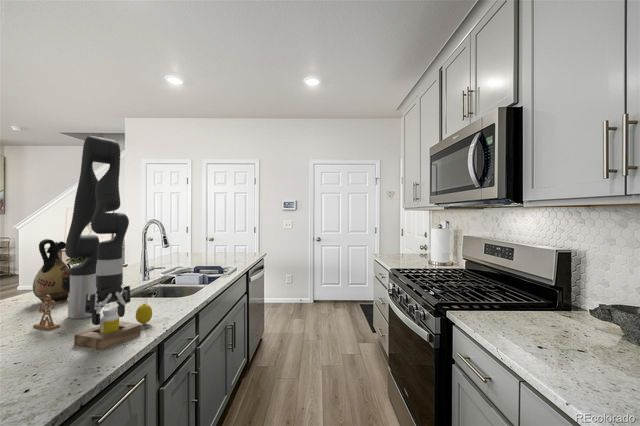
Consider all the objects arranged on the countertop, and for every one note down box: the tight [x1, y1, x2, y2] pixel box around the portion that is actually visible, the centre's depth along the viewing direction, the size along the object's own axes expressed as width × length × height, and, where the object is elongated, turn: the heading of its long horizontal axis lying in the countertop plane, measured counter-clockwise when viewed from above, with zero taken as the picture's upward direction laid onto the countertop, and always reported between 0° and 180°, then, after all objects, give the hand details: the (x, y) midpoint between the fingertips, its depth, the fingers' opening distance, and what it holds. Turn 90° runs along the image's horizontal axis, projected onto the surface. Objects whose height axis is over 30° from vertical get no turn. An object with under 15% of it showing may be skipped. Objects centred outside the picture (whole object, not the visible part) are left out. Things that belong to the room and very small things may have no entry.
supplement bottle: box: [99, 307, 120, 334], centre depth 106 cm, size 5×5×10 cm
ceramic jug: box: [32, 238, 71, 304], centre depth 149 cm, size 17×15×30 cm
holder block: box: [73, 320, 142, 352], centre depth 106 cm, size 12×14×4 cm
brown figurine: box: [32, 295, 61, 332], centre depth 116 cm, size 9×4×12 cm, turn 71°
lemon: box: [135, 303, 153, 326], centre depth 120 cm, size 6×6×8 cm
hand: (108, 320), depth 106 cm, fingers open, 8 cm apart
